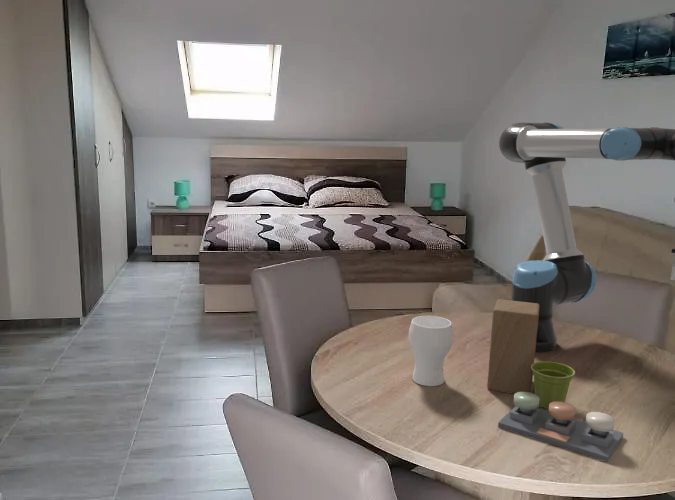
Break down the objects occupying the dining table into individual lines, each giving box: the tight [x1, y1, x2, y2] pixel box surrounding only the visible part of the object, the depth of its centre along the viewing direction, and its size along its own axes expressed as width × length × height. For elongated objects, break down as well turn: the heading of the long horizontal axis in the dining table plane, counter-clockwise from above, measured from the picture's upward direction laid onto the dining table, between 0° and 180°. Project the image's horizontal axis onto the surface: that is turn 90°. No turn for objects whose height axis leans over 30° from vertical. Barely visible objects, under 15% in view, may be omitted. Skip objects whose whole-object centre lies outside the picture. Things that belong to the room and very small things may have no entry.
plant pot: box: [531, 360, 576, 411], centre depth 144 cm, size 9×9×9 cm
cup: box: [408, 315, 454, 387], centre depth 155 cm, size 11×11×15 cm
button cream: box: [585, 411, 615, 435], centre depth 127 cm, size 5×5×3 cm
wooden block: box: [486, 298, 539, 394], centre depth 152 cm, size 10×10×20 cm
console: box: [497, 405, 624, 462], centre depth 132 cm, size 22×12×2 cm, turn 54°
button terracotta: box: [547, 401, 577, 423], centre depth 131 cm, size 5×5×3 cm
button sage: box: [513, 392, 540, 413], centre depth 136 cm, size 5×5×3 cm
